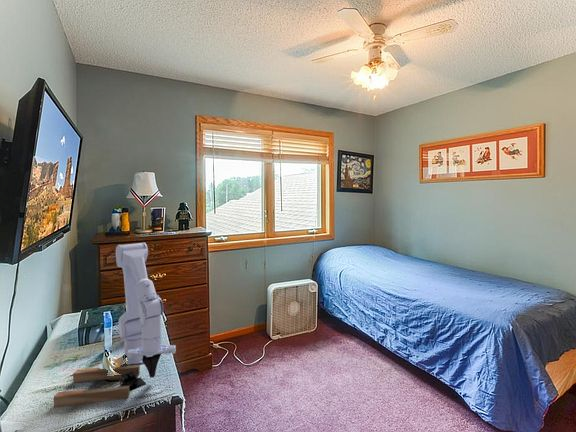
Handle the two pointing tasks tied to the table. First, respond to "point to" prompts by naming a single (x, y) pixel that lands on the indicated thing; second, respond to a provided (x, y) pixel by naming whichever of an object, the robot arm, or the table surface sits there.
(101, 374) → the walled channel
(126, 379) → the black piece
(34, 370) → the table surface
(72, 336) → the table surface
